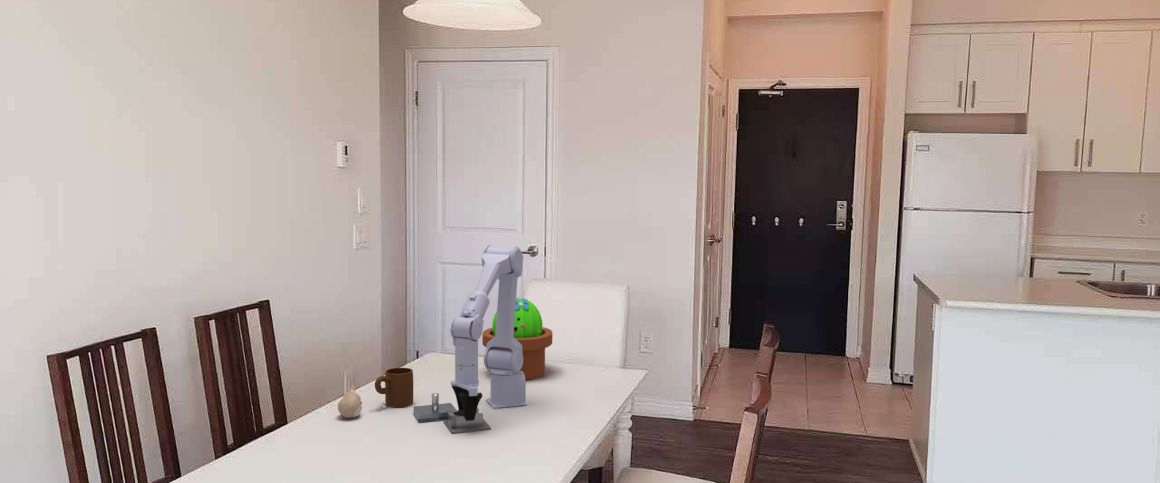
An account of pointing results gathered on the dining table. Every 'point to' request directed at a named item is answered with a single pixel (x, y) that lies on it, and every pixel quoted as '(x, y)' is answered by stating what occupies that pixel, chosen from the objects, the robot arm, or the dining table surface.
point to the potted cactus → (527, 337)
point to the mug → (396, 387)
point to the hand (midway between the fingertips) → (466, 416)
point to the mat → (468, 428)
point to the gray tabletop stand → (463, 419)
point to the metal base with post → (433, 410)
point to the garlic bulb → (350, 404)
